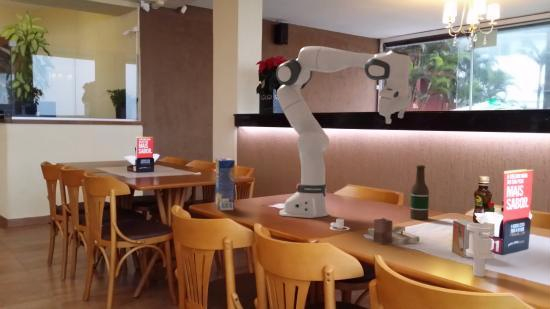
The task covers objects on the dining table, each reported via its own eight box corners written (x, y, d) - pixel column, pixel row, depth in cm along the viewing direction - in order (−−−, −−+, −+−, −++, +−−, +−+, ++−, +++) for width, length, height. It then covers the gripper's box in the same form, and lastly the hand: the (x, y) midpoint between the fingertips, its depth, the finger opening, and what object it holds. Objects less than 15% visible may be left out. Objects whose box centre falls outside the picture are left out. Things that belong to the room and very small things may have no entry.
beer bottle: (429, 220, 209) (430, 166, 207) (410, 219, 210) (412, 165, 209) (427, 217, 216) (428, 165, 215) (409, 216, 218) (411, 164, 217)
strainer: (487, 280, 127) (489, 225, 126) (461, 275, 132) (463, 221, 131) (496, 274, 132) (498, 221, 131) (470, 269, 137) (472, 218, 136)
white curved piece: (328, 226, 196) (329, 216, 196) (348, 227, 196) (348, 217, 195) (330, 231, 187) (330, 221, 187) (350, 231, 187) (351, 221, 187)
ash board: (399, 244, 165) (399, 238, 165) (368, 233, 181) (368, 228, 181) (419, 242, 169) (419, 236, 169) (386, 231, 185) (387, 226, 185)
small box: (451, 251, 157) (452, 219, 157) (467, 251, 158) (468, 219, 157) (463, 258, 149) (464, 225, 149) (480, 257, 150) (481, 224, 149)
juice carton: (234, 209, 230) (234, 160, 229) (219, 210, 228) (219, 160, 227) (229, 205, 242) (230, 158, 240) (215, 206, 240) (215, 158, 238)
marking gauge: (381, 244, 165) (382, 219, 165) (373, 241, 169) (374, 217, 169) (407, 241, 170) (408, 217, 170) (399, 238, 174) (399, 215, 174)
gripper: (403, 82, 206) (401, 112, 211) (376, 93, 192) (374, 124, 198) (416, 85, 201) (413, 115, 207) (390, 95, 188) (387, 128, 194)
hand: (394, 120), depth 202 cm, fingers open, 8 cm apart
